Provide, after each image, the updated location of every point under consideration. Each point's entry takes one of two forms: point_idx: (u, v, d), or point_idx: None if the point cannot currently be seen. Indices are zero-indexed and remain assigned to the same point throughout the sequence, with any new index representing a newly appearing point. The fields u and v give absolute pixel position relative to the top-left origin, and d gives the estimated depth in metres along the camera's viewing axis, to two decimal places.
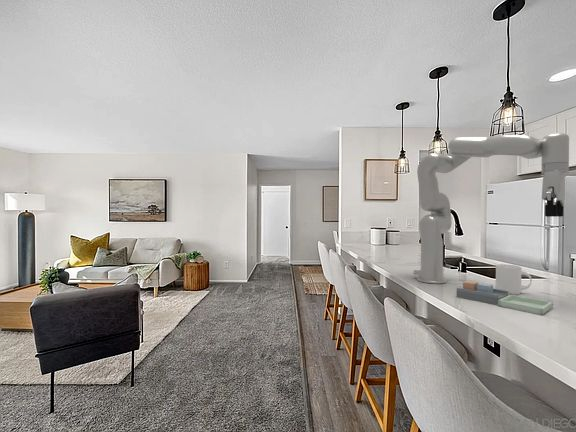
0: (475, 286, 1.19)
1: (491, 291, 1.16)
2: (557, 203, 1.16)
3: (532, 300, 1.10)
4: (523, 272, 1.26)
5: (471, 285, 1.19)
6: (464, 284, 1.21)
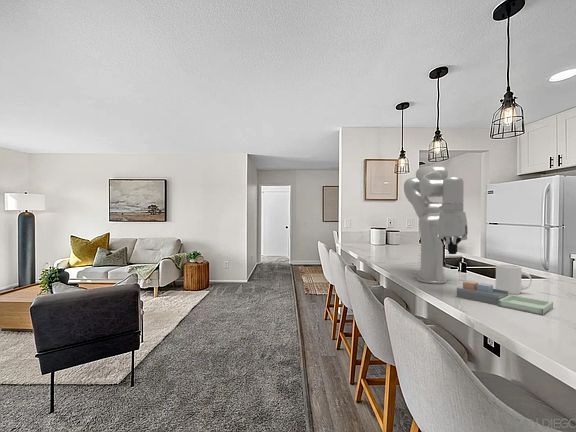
0: (475, 286, 1.19)
1: (491, 291, 1.16)
2: (450, 241, 1.27)
3: (532, 300, 1.10)
4: (523, 272, 1.26)
5: (471, 285, 1.19)
6: (464, 284, 1.21)
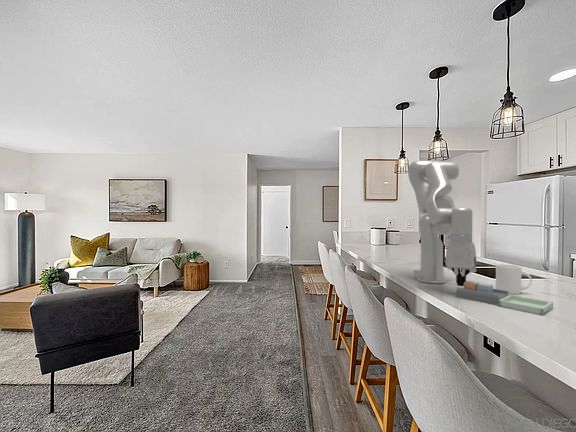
0: (476, 287, 1.19)
1: (491, 291, 1.16)
2: (459, 272, 1.24)
3: (532, 300, 1.10)
4: (523, 272, 1.26)
5: (472, 285, 1.19)
6: (465, 284, 1.21)
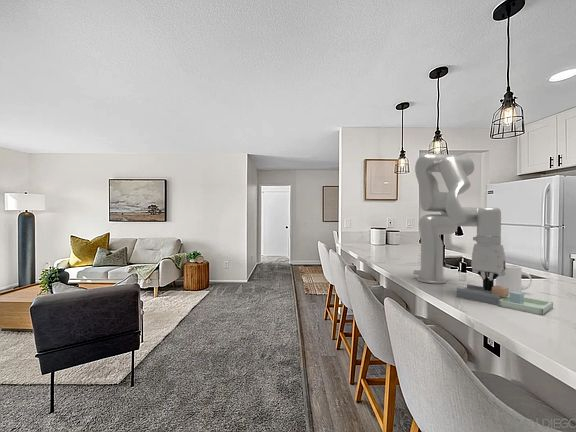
0: (505, 291, 1.11)
1: None
2: (486, 276, 1.17)
3: (532, 300, 1.10)
4: (523, 272, 1.26)
5: (501, 290, 1.11)
6: (493, 289, 1.13)
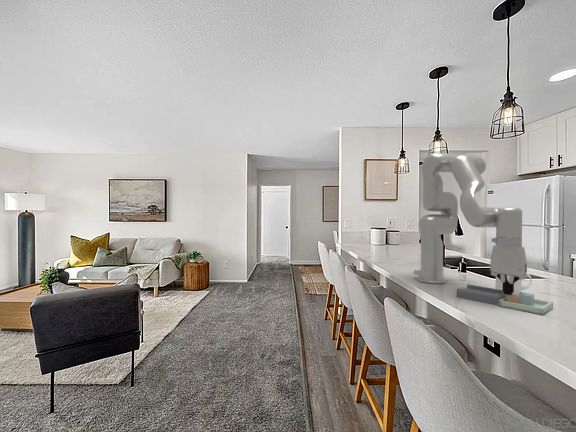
0: None
1: None
2: (505, 279, 1.12)
3: None
4: None
5: (516, 298, 1.08)
6: (508, 297, 1.10)
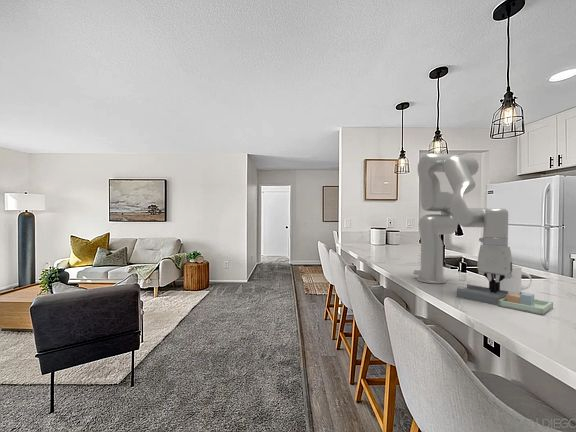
0: None
1: None
2: (492, 278, 1.15)
3: None
4: (523, 272, 1.26)
5: (516, 298, 1.08)
6: (508, 297, 1.10)
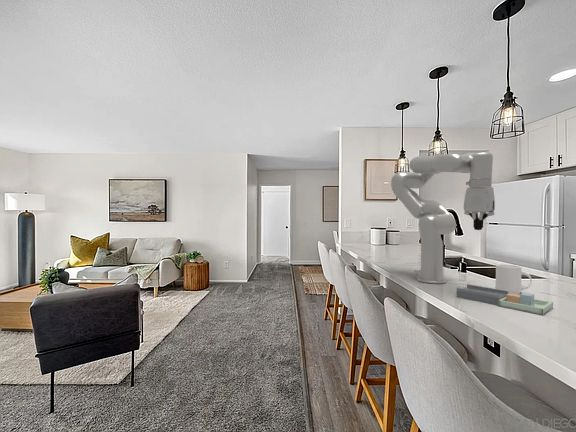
0: None
1: None
2: (476, 217, 1.27)
3: None
4: (523, 272, 1.26)
5: (516, 298, 1.08)
6: (508, 297, 1.10)
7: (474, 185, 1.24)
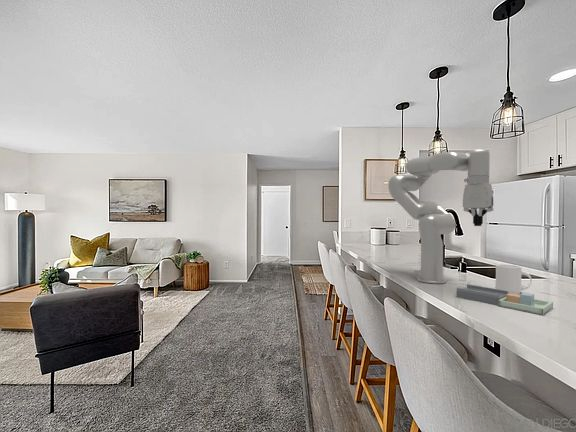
0: None
1: None
2: (475, 213, 1.28)
3: None
4: (523, 272, 1.26)
5: (516, 298, 1.08)
6: (508, 297, 1.10)
7: (472, 182, 1.25)
